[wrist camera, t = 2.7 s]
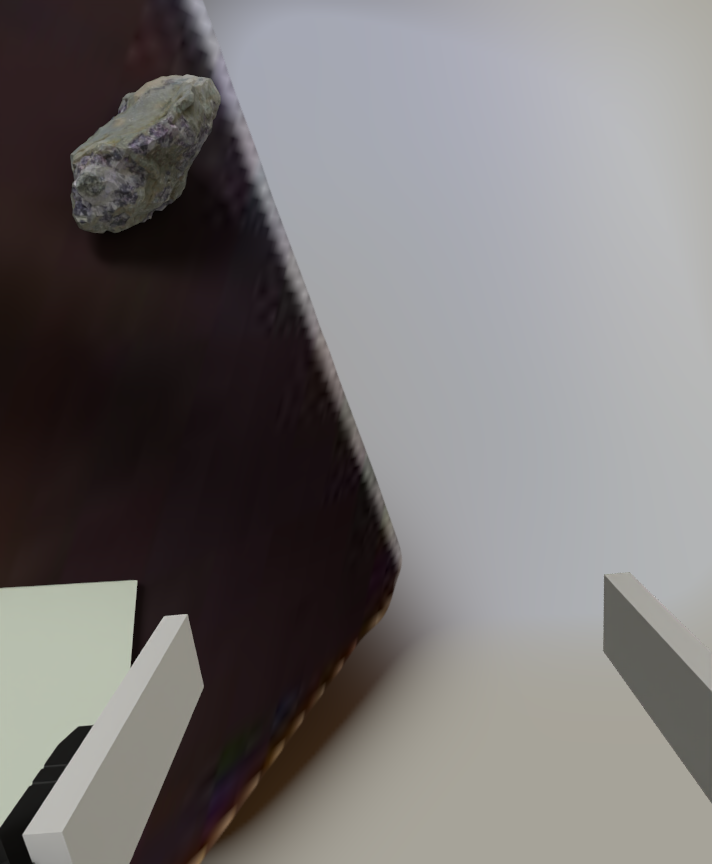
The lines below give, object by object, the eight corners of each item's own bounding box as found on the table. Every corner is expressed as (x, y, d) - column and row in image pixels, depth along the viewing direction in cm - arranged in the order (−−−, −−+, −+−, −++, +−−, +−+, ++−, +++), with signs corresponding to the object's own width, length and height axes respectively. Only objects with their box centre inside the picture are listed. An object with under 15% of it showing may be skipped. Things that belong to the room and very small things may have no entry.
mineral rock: (66, 246, 34) (134, 175, 28) (-16, 87, 32) (39, -28, 26) (204, 231, 44) (277, 176, 38) (149, 109, 42) (217, 29, 36)
